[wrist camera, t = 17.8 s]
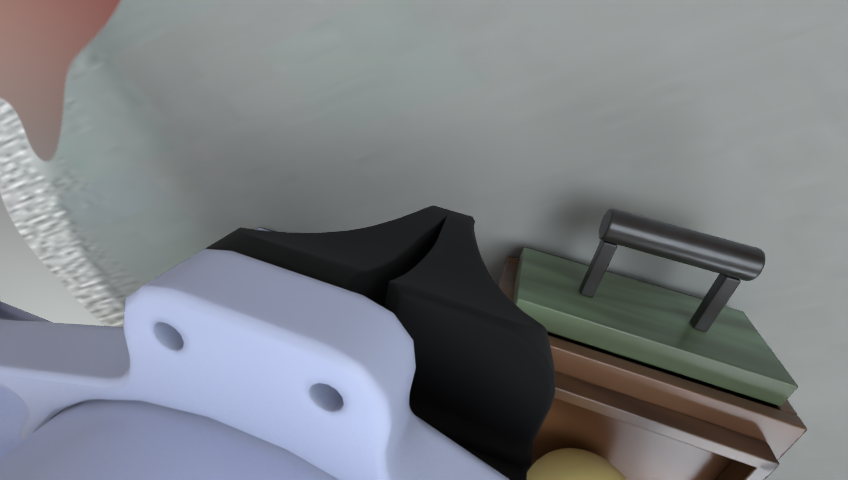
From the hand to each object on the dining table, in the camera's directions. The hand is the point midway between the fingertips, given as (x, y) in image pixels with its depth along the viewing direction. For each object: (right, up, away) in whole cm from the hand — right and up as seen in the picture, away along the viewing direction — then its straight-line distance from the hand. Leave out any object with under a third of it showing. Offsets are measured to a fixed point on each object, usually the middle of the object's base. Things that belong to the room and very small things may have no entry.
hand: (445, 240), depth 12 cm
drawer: (+9, -6, +11) cm, 16 cm away
